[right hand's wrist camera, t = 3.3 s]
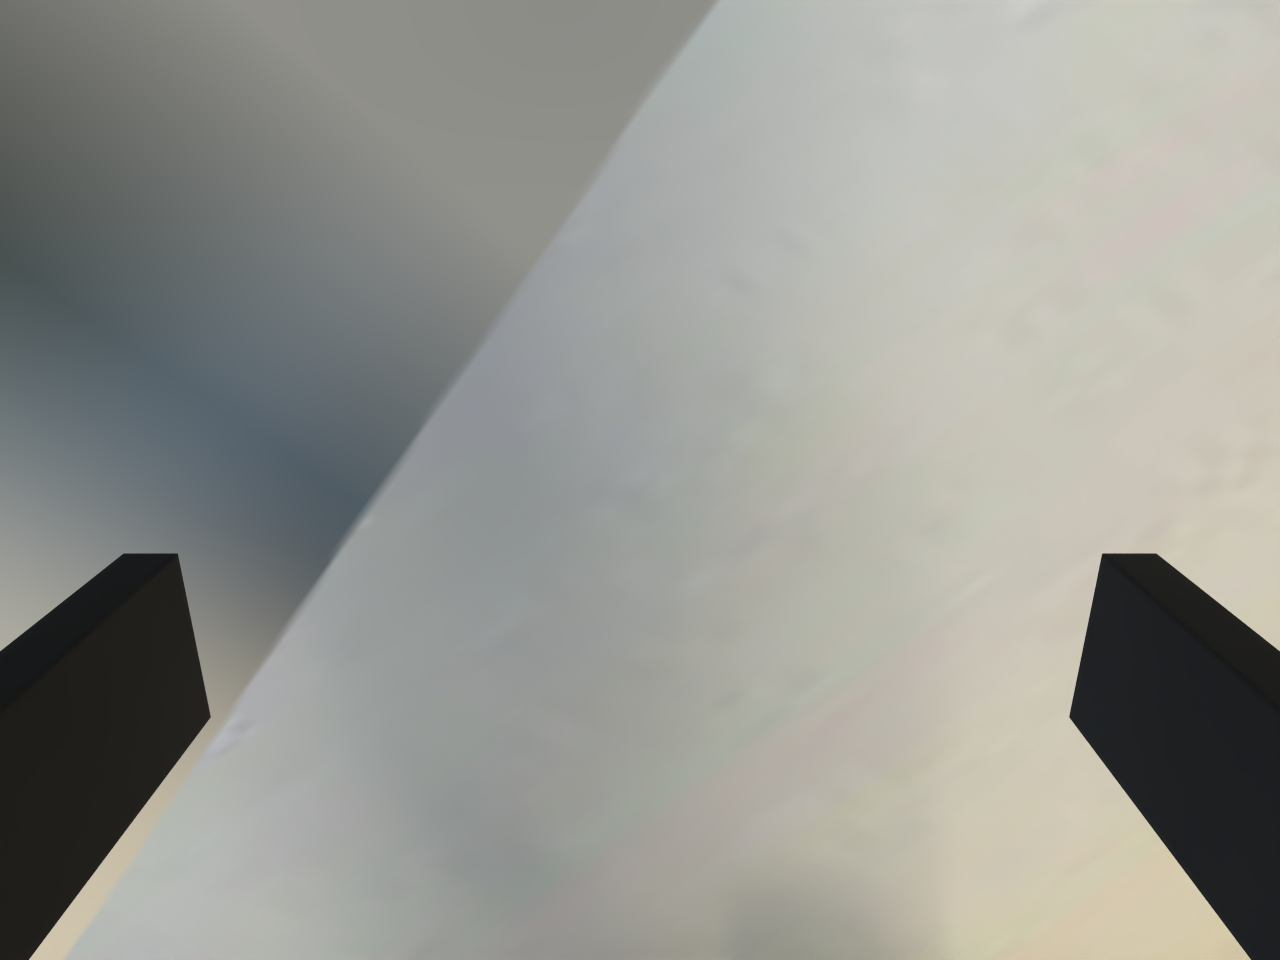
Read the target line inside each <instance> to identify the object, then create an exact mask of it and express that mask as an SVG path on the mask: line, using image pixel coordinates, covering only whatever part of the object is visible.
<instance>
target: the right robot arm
mask: <svg viewBox="0 0 1280 960" xmlns="http://www.w3.org/2000/svg"><path fill="white" fill-rule="evenodd" d="M210 717H211V716H210V711H209V706H208V701H207V696H206V691H205V687H204V681H203V676H202V672H201V667H200V662H199V657H198V652H197V647H196V642H195V637H194V632H193V627H192V622H191V617H190V612H189V607H188V602H187V597H186V592H185V588H184V582H183V577H182V573H181V568H180V563H179V558H178V554H123V555H121V556H120V557H119V558H118V559H116V560H115V561H114V562H112V563H111V564H110V565H109V566H108V567H106V568H105V569H104V570H102V571H101V572H100V573H99V574H97V575H96V576H95V577H94V578H92V579H91V580H90V581H89V582H87V583H86V584H85V585H83V586H82V587H81V588H80V589H78V590H77V591H76V592H75V593H73V594H72V595H71V596H70V597H68V598H67V599H66V600H65V601H63V602H62V603H61V604H59V605H58V606H57V607H56V608H54V609H53V610H52V611H51V612H49V613H48V614H47V615H46V616H44V617H43V618H42V619H41V620H39V621H38V622H37V623H36V624H34V625H33V626H32V627H31V628H29V629H28V630H27V631H25V632H24V633H23V634H22V635H20V636H19V637H18V638H17V639H15V640H14V641H13V642H11V643H10V644H9V645H8V646H6V647H5V648H4V649H3V650H1V651H0V960H29V959H30V957H31V956H32V955H33V953H34V952H35V951H36V949H37V948H38V947H39V945H40V944H41V943H42V941H43V940H44V939H45V937H46V936H47V935H48V933H49V932H50V931H51V929H52V928H53V927H54V925H55V924H56V923H57V921H58V920H59V919H60V917H61V916H62V915H63V913H64V912H65V911H66V909H67V908H68V907H69V905H70V904H71V903H72V901H73V900H74V899H75V897H76V896H77V895H78V893H79V892H80V891H81V889H82V888H83V887H84V885H85V884H86V883H87V881H88V880H89V879H90V877H91V876H92V875H93V873H94V872H95V871H96V869H97V868H98V867H99V865H100V864H101V863H102V861H103V860H104V859H105V857H106V856H107V855H108V853H109V852H110V851H111V849H112V848H113V847H114V845H115V844H116V843H117V841H118V840H119V839H120V837H121V836H122V835H123V833H124V832H125V831H126V829H127V828H128V827H129V825H130V824H131V823H132V821H133V820H134V819H135V817H136V816H137V815H138V813H139V812H140V811H141V809H142V808H143V807H144V805H145V804H146V803H147V801H148V800H149V799H150V797H151V796H152V795H153V793H154V792H155V791H156V789H157V788H158V787H159V785H160V784H161V783H162V781H163V780H164V779H165V777H166V776H167V775H168V773H169V772H170V771H171V769H172V768H173V767H174V765H175V764H176V763H177V761H178V760H179V759H180V757H181V756H182V755H183V753H184V752H185V751H186V749H187V748H188V747H189V745H190V744H191V743H192V741H193V740H194V739H195V737H196V736H197V735H198V733H199V732H200V731H201V729H202V728H203V727H204V725H205V724H206V723H207V721H208V720H209V719H210ZM1069 717H1070V719H1071V720H1072V721H1073V723H1074V724H1075V725H1076V727H1077V728H1078V729H1079V731H1080V732H1081V733H1082V735H1083V736H1084V737H1085V739H1086V740H1087V741H1088V743H1089V744H1090V745H1091V747H1092V748H1093V749H1094V751H1095V752H1096V753H1097V755H1098V756H1099V757H1100V759H1101V760H1102V761H1103V763H1104V764H1105V765H1106V767H1107V768H1108V769H1109V771H1110V772H1111V773H1112V775H1113V776H1114V777H1115V779H1116V780H1117V781H1118V783H1119V784H1120V785H1121V787H1122V788H1123V789H1124V791H1125V792H1126V793H1127V795H1128V796H1129V797H1130V799H1131V800H1132V801H1133V803H1134V804H1135V805H1136V807H1137V808H1138V809H1139V811H1140V812H1141V813H1142V815H1143V816H1144V817H1145V819H1146V820H1147V821H1148V823H1149V824H1150V825H1151V827H1152V828H1153V829H1154V831H1155V832H1156V833H1157V835H1158V836H1159V837H1160V839H1161V840H1162V841H1163V843H1164V844H1165V845H1166V847H1167V848H1168V849H1169V851H1170V852H1171V853H1172V855H1173V856H1174V857H1175V859H1176V860H1177V861H1178V863H1179V864H1180V865H1181V867H1182V868H1183V869H1184V871H1185V872H1186V873H1187V875H1188V876H1189V877H1190V879H1191V880H1192V881H1193V883H1194V884H1195V885H1196V887H1197V888H1198V889H1199V891H1200V892H1201V893H1202V895H1203V896H1204V897H1205V899H1206V900H1207V901H1208V903H1209V904H1210V905H1211V907H1212V908H1213V909H1214V911H1215V912H1216V913H1217V915H1218V916H1219V917H1220V919H1221V920H1222V921H1223V923H1224V924H1225V925H1226V927H1227V928H1228V929H1229V931H1230V932H1231V933H1232V935H1233V936H1234V937H1235V939H1236V940H1237V941H1238V943H1239V944H1240V945H1241V947H1242V948H1243V949H1244V951H1245V952H1246V953H1247V955H1248V956H1249V957H1250V959H1251V960H1280V651H1279V650H1277V649H1276V648H1275V647H1274V646H1272V645H1271V644H1270V643H1269V642H1267V641H1266V640H1265V639H1263V638H1262V637H1261V636H1260V635H1258V634H1257V633H1256V632H1255V631H1253V630H1252V629H1251V628H1250V627H1248V626H1247V625H1246V624H1245V623H1243V622H1242V621H1241V620H1239V619H1238V618H1237V617H1236V616H1234V615H1233V614H1232V613H1231V612H1229V611H1228V610H1227V609H1226V608H1224V607H1223V606H1222V605H1221V604H1219V603H1218V602H1217V601H1215V600H1214V599H1213V598H1212V597H1210V596H1209V595H1208V594H1207V593H1205V592H1204V591H1203V590H1202V589H1200V588H1199V587H1198V586H1197V585H1195V584H1194V583H1193V582H1192V581H1190V580H1189V579H1188V578H1186V577H1185V576H1184V575H1183V574H1181V573H1180V572H1179V571H1178V570H1176V569H1175V568H1174V567H1173V566H1171V565H1170V564H1169V563H1168V562H1166V561H1165V560H1164V559H1162V558H1161V557H1160V556H1159V555H1157V554H1102V558H1101V563H1100V568H1099V573H1098V577H1097V582H1096V587H1095V592H1094V597H1093V602H1092V607H1091V612H1090V617H1089V622H1088V627H1087V632H1086V637H1085V642H1084V647H1083V652H1082V657H1081V662H1080V667H1079V672H1078V676H1077V681H1076V686H1075V691H1074V696H1073V701H1072V706H1071V711H1070V716H1069Z"/></svg>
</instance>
